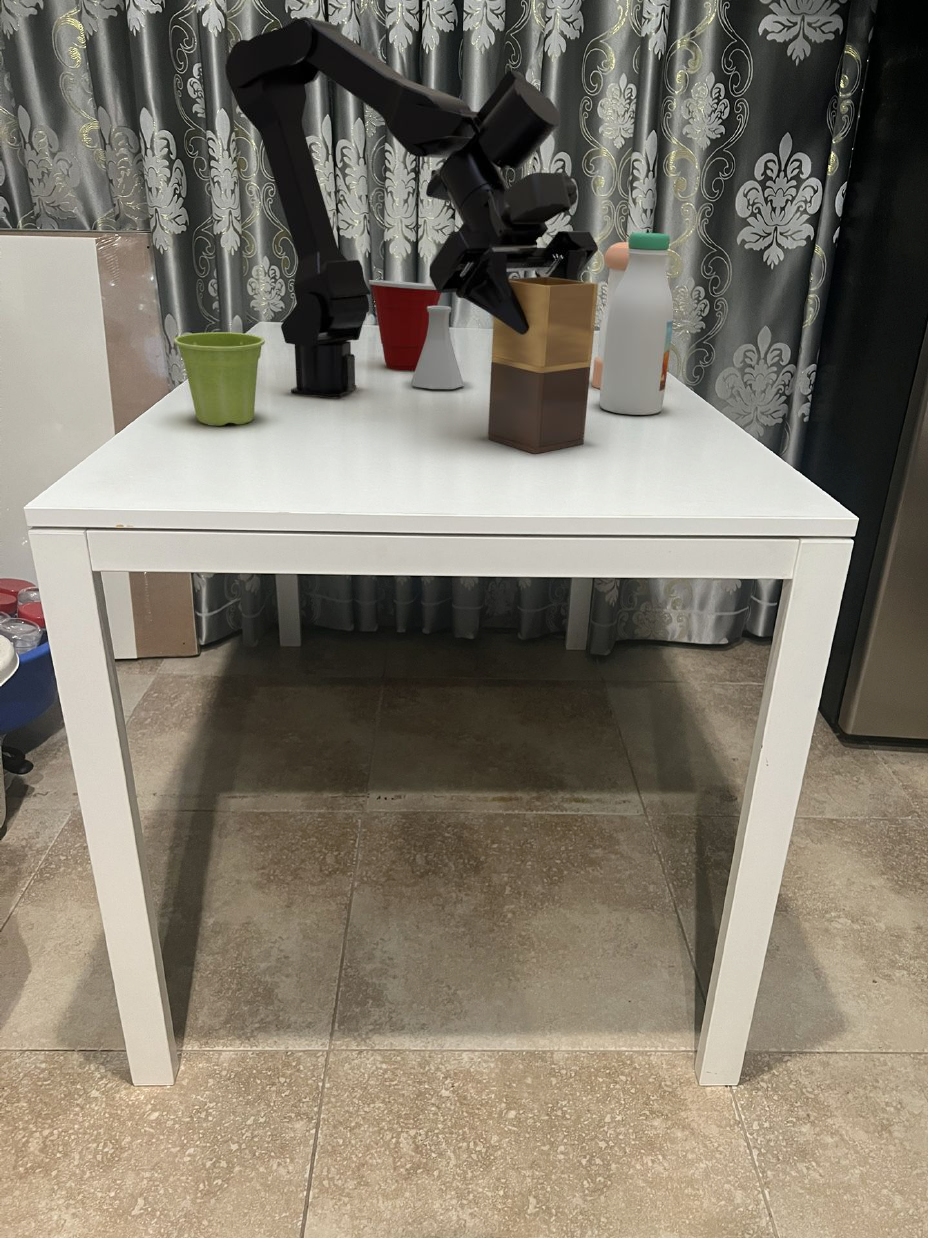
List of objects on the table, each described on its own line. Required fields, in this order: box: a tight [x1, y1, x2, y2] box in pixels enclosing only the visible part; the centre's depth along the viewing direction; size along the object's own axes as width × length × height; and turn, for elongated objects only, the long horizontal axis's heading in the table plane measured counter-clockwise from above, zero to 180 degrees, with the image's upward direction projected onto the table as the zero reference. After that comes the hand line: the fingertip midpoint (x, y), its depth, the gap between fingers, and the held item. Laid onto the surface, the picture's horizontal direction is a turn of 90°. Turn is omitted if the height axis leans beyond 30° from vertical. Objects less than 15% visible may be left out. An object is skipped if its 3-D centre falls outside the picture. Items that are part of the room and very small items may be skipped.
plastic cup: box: [368, 279, 442, 372], centre depth 130 cm, size 11×11×12 cm
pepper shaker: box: [591, 236, 629, 389], centre depth 120 cm, size 7×7×19 cm
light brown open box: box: [491, 276, 599, 373], centre depth 91 cm, size 7×7×8 cm
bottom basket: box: [487, 361, 591, 455], centre depth 94 cm, size 7×7×8 cm
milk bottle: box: [599, 232, 674, 416], centre depth 107 cm, size 8×8×20 cm
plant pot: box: [173, 331, 266, 427], centre depth 98 cm, size 9×9×9 cm
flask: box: [410, 305, 465, 390], centre depth 119 cm, size 7×7×10 cm
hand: (552, 329), depth 90 cm, fingers closed on light brown open box, 7 cm apart
